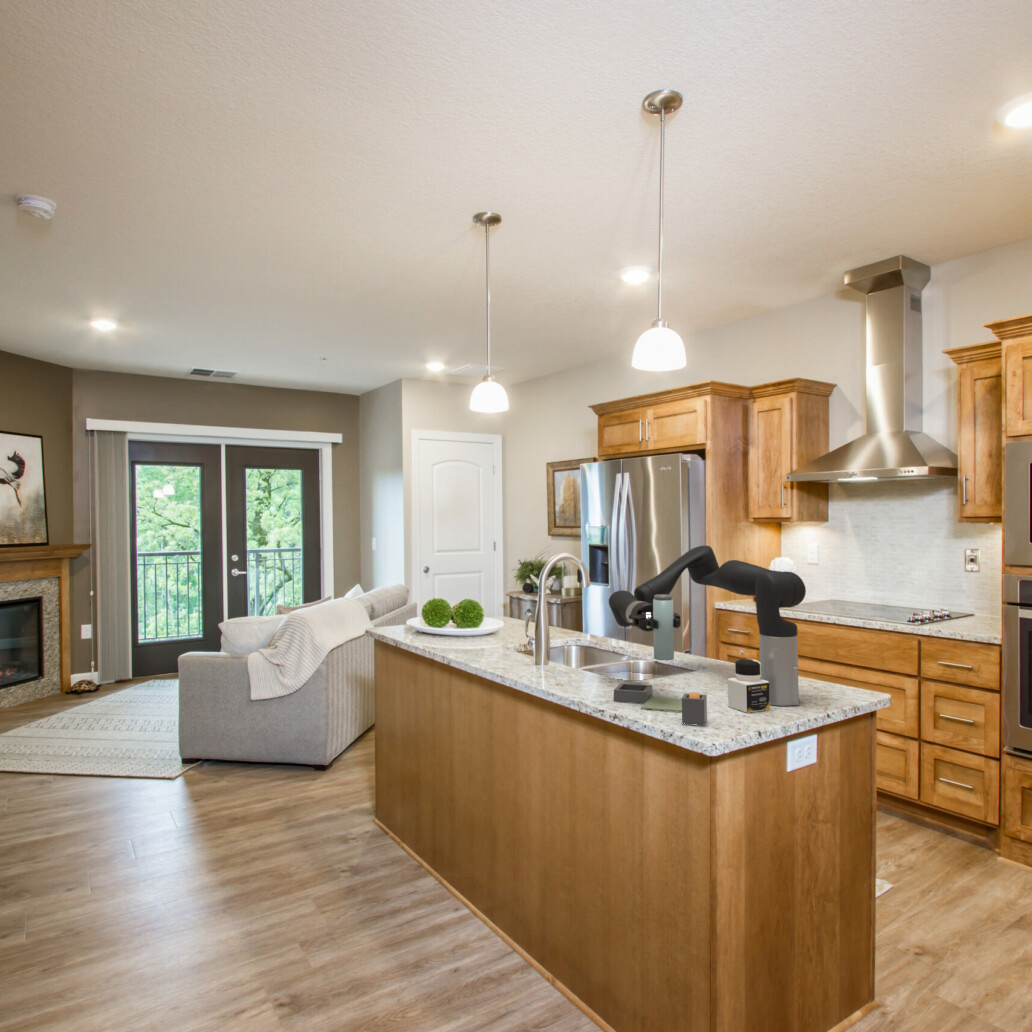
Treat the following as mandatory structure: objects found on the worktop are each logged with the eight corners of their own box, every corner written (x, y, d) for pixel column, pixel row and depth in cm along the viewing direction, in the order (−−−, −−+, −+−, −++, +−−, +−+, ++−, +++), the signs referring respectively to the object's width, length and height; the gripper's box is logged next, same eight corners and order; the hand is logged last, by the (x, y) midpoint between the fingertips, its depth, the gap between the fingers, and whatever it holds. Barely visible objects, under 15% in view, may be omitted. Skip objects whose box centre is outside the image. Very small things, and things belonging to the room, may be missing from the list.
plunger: (700, 716, 170) (700, 692, 170) (699, 719, 167) (698, 694, 168) (690, 715, 171) (689, 691, 171) (688, 718, 168) (688, 694, 168)
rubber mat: (696, 701, 188) (696, 699, 188) (690, 713, 177) (690, 711, 177) (649, 698, 193) (649, 696, 193) (641, 709, 181) (641, 707, 181)
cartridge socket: (652, 696, 195) (652, 685, 195) (646, 704, 187) (646, 692, 187) (621, 694, 198) (620, 683, 198) (613, 701, 190) (613, 689, 190)
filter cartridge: (674, 656, 187) (673, 594, 187) (673, 660, 183) (672, 596, 182) (654, 655, 189) (653, 594, 189) (653, 659, 184) (652, 596, 184)
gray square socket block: (707, 720, 170) (706, 694, 171) (704, 726, 166) (704, 699, 166) (685, 718, 172) (684, 693, 172) (682, 724, 168) (681, 698, 168)
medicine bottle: (747, 713, 176) (746, 663, 176) (727, 706, 183) (726, 658, 183) (770, 710, 179) (769, 661, 179) (750, 703, 186) (749, 656, 186)
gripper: (668, 628, 201) (694, 637, 184) (618, 630, 198) (640, 640, 182) (667, 600, 201) (693, 608, 184) (617, 602, 199) (639, 610, 182)
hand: (667, 624), depth 183 cm, fingers closed on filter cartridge, 5 cm apart
